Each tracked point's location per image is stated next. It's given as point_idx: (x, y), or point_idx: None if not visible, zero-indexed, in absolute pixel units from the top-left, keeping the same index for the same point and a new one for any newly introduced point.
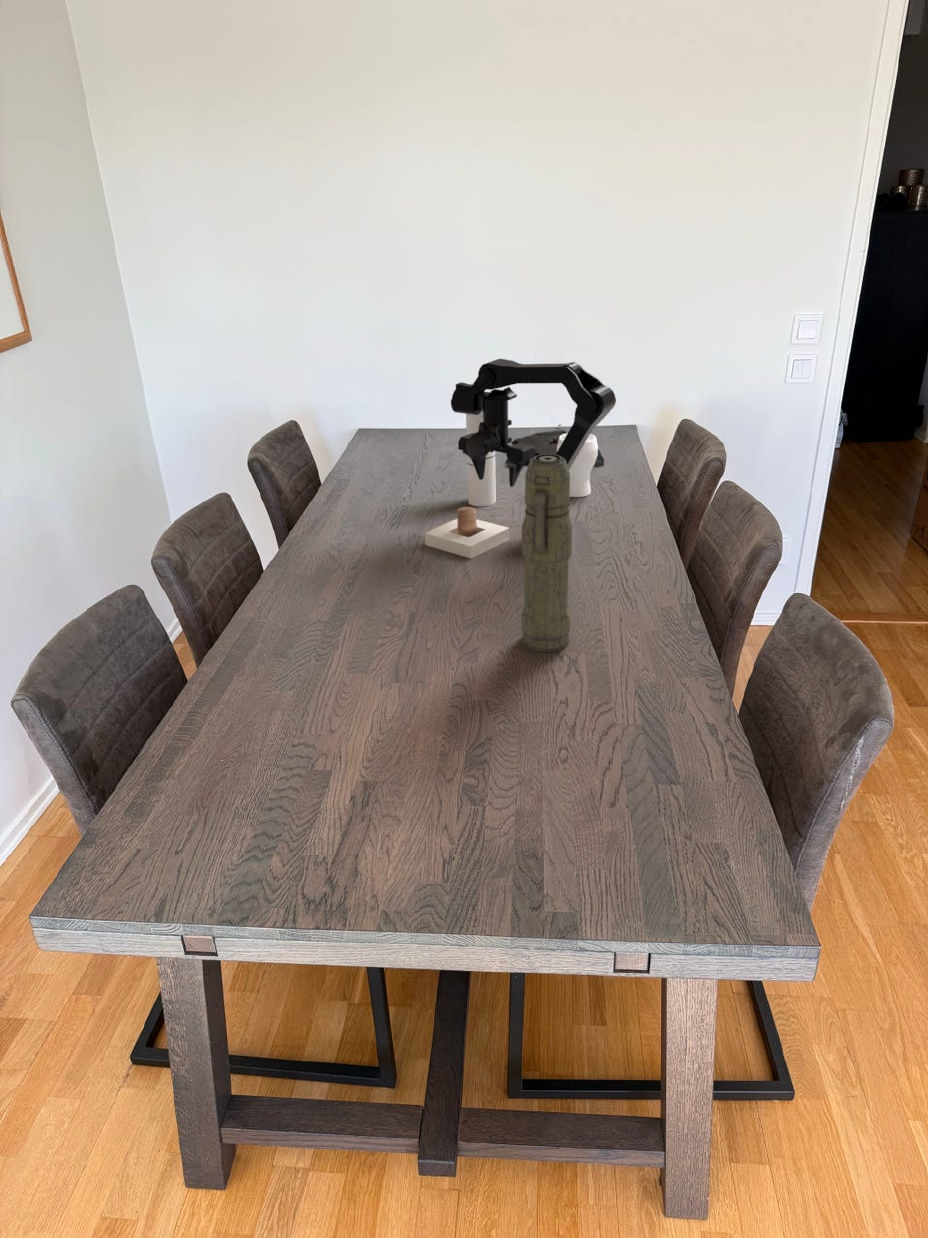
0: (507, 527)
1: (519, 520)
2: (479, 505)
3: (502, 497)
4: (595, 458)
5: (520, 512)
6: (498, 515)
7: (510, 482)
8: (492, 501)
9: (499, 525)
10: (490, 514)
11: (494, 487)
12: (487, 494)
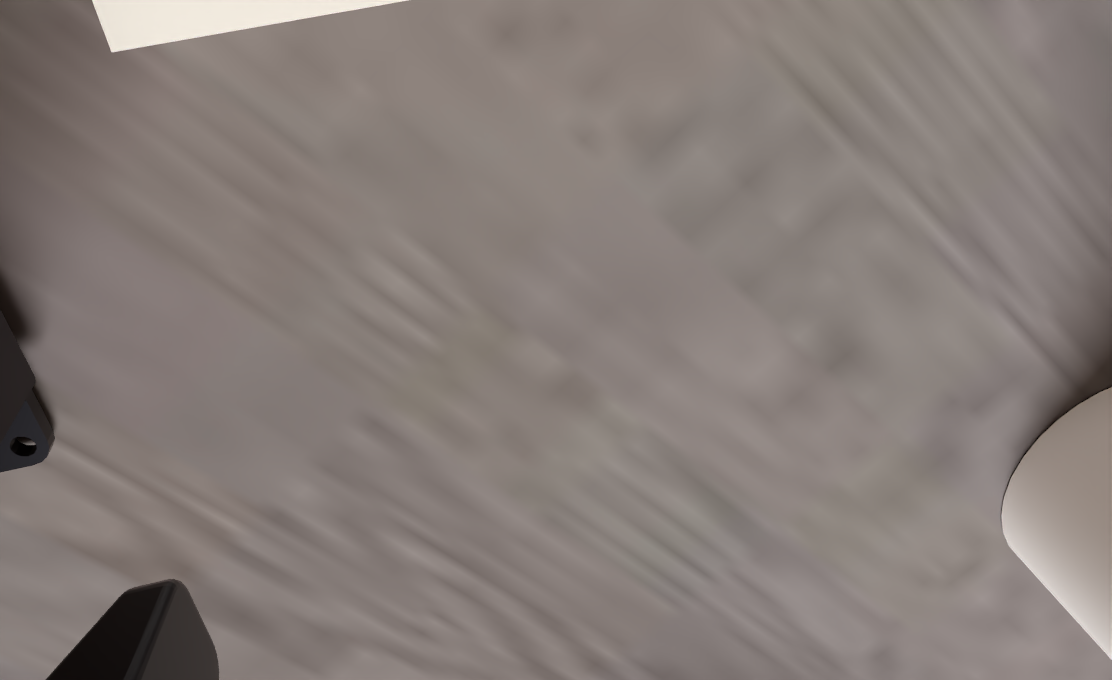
0: (144, 41)
1: (557, 458)
2: (1084, 408)
3: (1018, 630)
4: None
5: (691, 564)
6: (801, 395)
7: (85, 676)
8: (1020, 521)
9: (303, 13)
10: (879, 358)
11: (1103, 639)
12: (1097, 531)
